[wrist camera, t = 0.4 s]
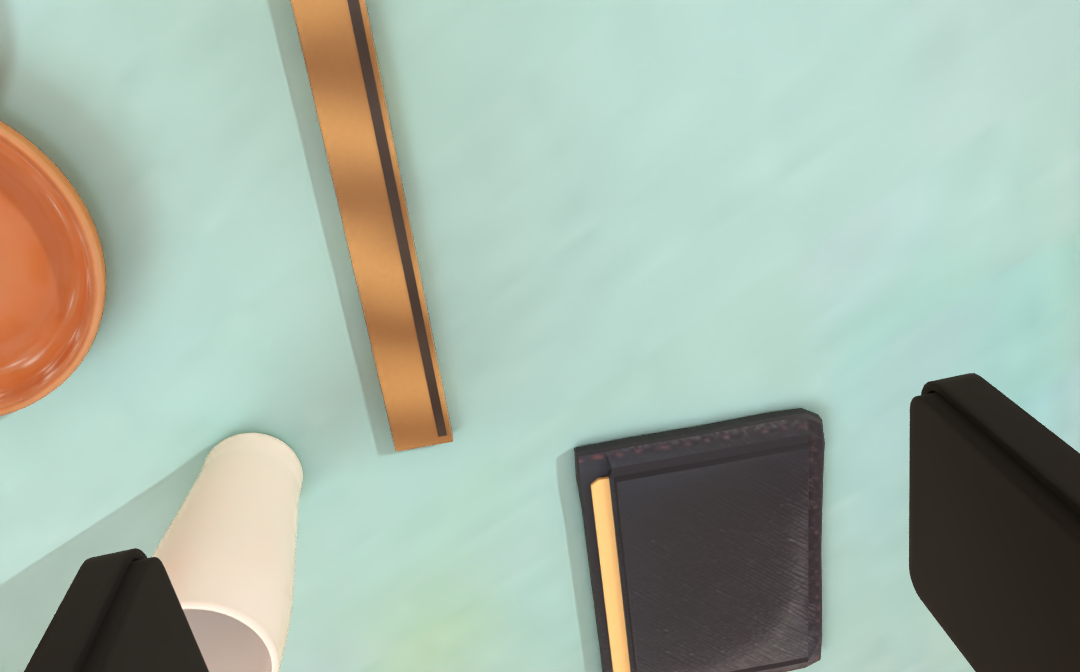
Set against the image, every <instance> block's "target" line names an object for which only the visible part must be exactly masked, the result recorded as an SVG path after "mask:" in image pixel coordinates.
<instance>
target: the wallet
mask: <svg viewBox="0 0 1080 672" xmlns="http://www.w3.org/2000/svg"><path fill="white" fill-rule="evenodd" d="M824 446H825V442H824V433H823V425H822V419H821V418H820V417H819V415H817V414H815V413H812V412H810V411H807V410H805V409H802V408H800V409H792V410H784V411H777V412H770V413H765V414H759V415H754V416H749V417H744V418H738V419H733V420H728V421H723V422H717V423H712V424H707V425H702V426H696V427H691V428H684V429H678V430H672V431H666V432H660V433H654V434H648V435H642V436H636V437H630V438H625V439H619V440H614V441H609V442H604V443H599V444H593V445H587V446H582V447H576V448H574V452H575V466H576V479H577V484H578V490H579V496H580V501H581V507H582V513H583V521H584V529H585V536H586V544H587V552H588V560H589V567H590V575H591V583H592V591H593V598H594V606H595V614H596V622H597V630H598V637H599V645H600V653H601V661H602V669H603V672H787V671H791V670H796V669H801V668H806V667H807V666H809V665H811V664H813V663H815V662H817V661H819V660H820V658H821V642H822V569H821V536H822V498H823V466H824Z"/></svg>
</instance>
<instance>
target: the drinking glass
mask: <svg viewBox="0 0 1080 672" xmlns="http://www.w3.org/2000/svg"><path fill="white" fill-rule="evenodd" d="M302 484H303V472H302V467H301V464H300V461H299V459H298V457H297V456H296V454H295V453H294V451H293V450H292V449H291V448H290V447H289V446H288V445H286V444H285V443H284V442H282V441H281V440H279V439H277V438H275V437H273V436H270V435H266V434H262V433H242V434H237V435H234V436H231V437H229V438H226V439H225V440H223V441H221V442H220V443H219V444H217V445H216V446H215V447H214V448H213V449H212V450H211V452H210V453H209V454H208V456H207V458H206V460H205V462H204V464H203V467H202V469H201V471H200V474H199V476H198V478H197V479H196V481H195V483H194V485H193V487H192V488H191V490H190V492H189V494H188V495H187V497H186V499H185V500H184V502H183V504H182V506H181V507H180V509H179V511H178V512H177V514H176V516H175V518H174V519H173V521H172V523H171V524H170V526H169V528H168V529H167V531H166V533H165V535H164V536H163V538H162V540H161V541H160V543H159V545H158V546H157V548H156V550H155V551H154V553H153V555H152V557H157V558H159V559H160V560H161V561H162V563H163V565H164V567H165V569H166V571H167V574H168V576H169V579H170V581H171V583H172V586H173V588H174V590H175V593H176V595H177V597H178V600H179V602H180V604H181V607H182V609H183V611H184V614H185V616H186V618H187V621H188V623H189V626H190V628H191V630H192V633H193V635H194V637H195V640H196V642H197V644H198V647H199V649H200V651H201V654H202V656H203V658H204V661H205V663H206V665H207V668H208V670H209V672H279V669H280V665H281V661H282V658H283V654H284V650H285V645H286V641H287V636H288V631H289V625H290V619H291V612H292V604H293V592H294V577H295V559H296V542H297V526H298V511H299V499H300V494H301V489H302Z"/></svg>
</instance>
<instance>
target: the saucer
mask: <svg viewBox="0 0 1080 672" xmlns="http://www.w3.org/2000/svg"><path fill="white" fill-rule="evenodd" d="M105 294H106V269H105V263H104V256H103V250H102V246H101V242H100V239H99V236H98V233H97V230H96V228H95V225H94V223H93V220H92V218H91V216H90V214H89V212H88V210H87V208H86V206H85V204H84V203H83V201H82V199H81V198H80V196H79V195H78V193H77V192H76V190H75V189H74V187H73V186H72V185H71V183H70V182H69V180H68V179H67V178H66V177H65V175H64V174H63V173H62V172H61V171H60V170H59V168H58V167H57V166H56V165H55V164H54V163H53V162H52V161H51V160H50V159H49V158H48V157H47V156H46V155H45V154H44V153H43V152H42V151H41V150H40V149H38V148H37V147H36V146H35V145H34V144H33V143H32V142H30V141H29V140H28V139H26V138H25V137H24V136H23V135H21V134H20V133H18V132H17V131H15V130H14V129H13V128H11V127H10V126H8V125H6V124H5V123H3V122H1V121H0V416H2V415H5V414H8V413H11V412H15V411H17V410H20V409H22V408H25V407H27V406H29V405H31V404H33V403H35V402H36V401H38V400H40V399H42V398H43V397H45V396H46V395H48V394H49V393H51V392H52V391H53V390H55V389H56V388H57V387H59V386H60V385H61V384H62V383H63V382H64V381H65V380H66V379H67V378H68V377H69V376H70V375H71V374H72V373H73V372H74V371H75V370H76V369H77V367H78V366H79V365H80V363H81V362H82V361H83V359H84V357H85V356H86V354H87V353H88V351H89V349H90V347H91V345H92V343H93V341H94V339H95V336H96V334H97V331H98V328H99V325H100V321H101V318H102V314H103V309H104V303H105Z"/></svg>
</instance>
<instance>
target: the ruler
mask: <svg viewBox="0 0 1080 672" xmlns="http://www.w3.org/2000/svg"><path fill="white" fill-rule="evenodd" d="M291 4H292V8H293V12H294V17H295V21H296V25H297V29H298V34H299V38H300V42H301V47H302V51H303V55H304V59H305V64H306V68H307V72H308V77H309V81H310V85H311V89H312V94H313V98H314V102H315V107H316V111H317V115H318V119H319V124H320V128H321V132H322V137H323V141H324V145H325V149H326V154H327V158H328V162H329V167H330V171H331V175H332V179H333V184H334V188H335V192H336V197H337V201H338V205H339V209H340V214H341V218H342V222H343V227H344V231H345V235H346V239H347V244H348V248H349V252H350V257H351V261H352V265H353V269H354V274H355V278H356V282H357V287H358V291H359V295H360V299H361V304H362V308H363V312H364V317H365V321H366V325H367V329H368V334H369V338H370V342H371V347H372V351H373V355H374V359H375V364H376V368H377V372H378V377H379V381H380V385H381V389H382V394H383V398H384V402H385V406H386V411H387V415H388V419H389V424H390V428H391V432H392V436H393V441H394V445H395V449H396V451H402V450H407V449H413V448H418V447H424V446H430V445H435V444H441V443H447V442H452V441H453V434H452V429H451V424H450V419H449V414H448V409H447V404H446V399H445V394H444V389H443V384H442V379H441V374H440V369H439V364H438V359H437V354H436V349H435V344H434V339H433V334H432V329H431V324H430V319H429V314H428V309H427V304H426V299H425V294H424V289H423V284H422V279H421V274H420V269H419V264H418V259H417V254H416V249H415V244H414V239H413V234H412V229H411V224H410V219H409V214H408V209H407V204H406V199H405V194H404V189H403V184H402V180H401V175H400V170H399V165H398V160H397V155H396V150H395V145H394V140H393V135H392V130H391V125H390V120H389V115H388V110H387V105H386V100H385V95H384V90H383V85H382V80H381V75H380V70H379V65H378V60H377V55H376V50H375V45H374V40H373V35H372V30H371V25H370V20H369V15H368V10H367V5H366V0H291Z"/></svg>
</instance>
